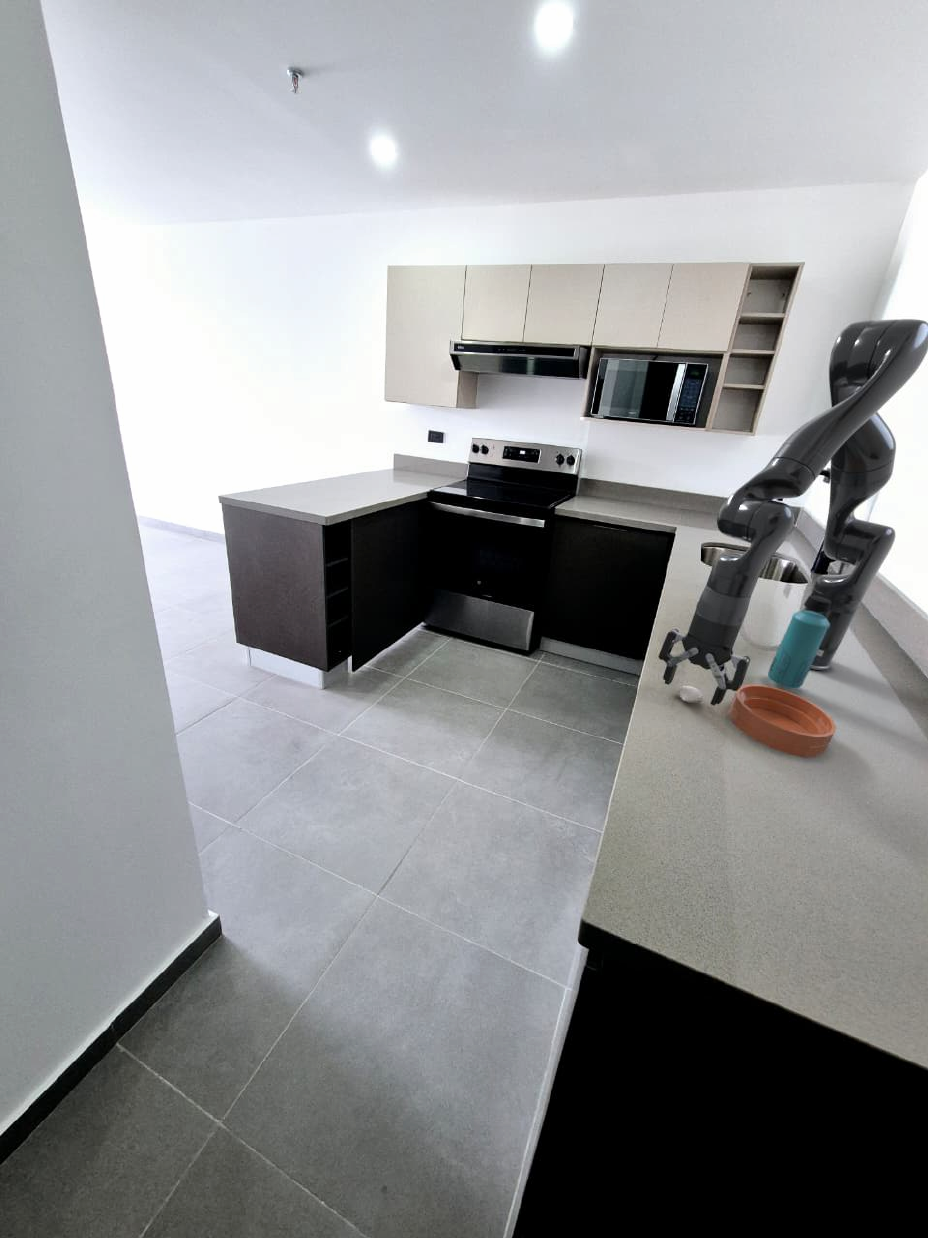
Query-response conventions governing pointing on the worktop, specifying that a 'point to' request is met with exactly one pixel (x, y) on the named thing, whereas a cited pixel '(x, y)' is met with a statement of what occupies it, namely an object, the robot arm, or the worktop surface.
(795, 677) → the beverage bottle
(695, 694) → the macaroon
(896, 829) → the worktop surface
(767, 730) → the bowl
